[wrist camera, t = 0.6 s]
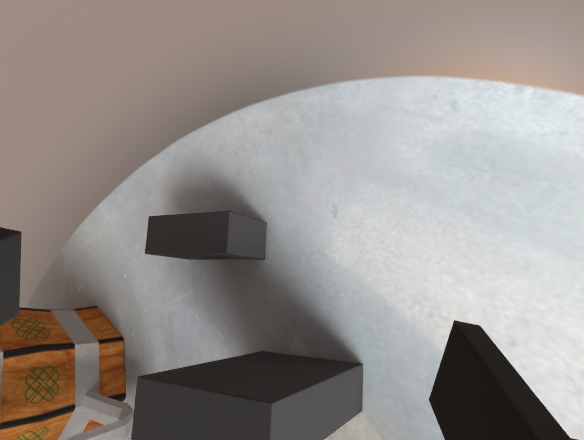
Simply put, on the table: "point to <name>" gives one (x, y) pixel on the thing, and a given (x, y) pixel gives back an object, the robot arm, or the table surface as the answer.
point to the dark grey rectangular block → (249, 399)
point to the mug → (62, 377)
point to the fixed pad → (206, 236)
